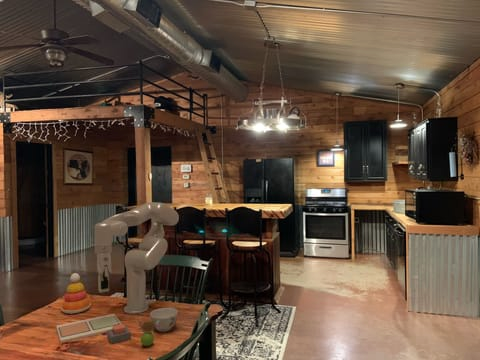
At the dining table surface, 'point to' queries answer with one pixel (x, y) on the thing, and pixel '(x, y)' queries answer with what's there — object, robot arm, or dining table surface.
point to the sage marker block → (100, 283)
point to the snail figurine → (146, 332)
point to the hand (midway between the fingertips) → (103, 287)
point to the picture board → (86, 327)
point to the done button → (118, 329)
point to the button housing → (118, 336)
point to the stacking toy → (75, 297)
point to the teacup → (164, 318)
